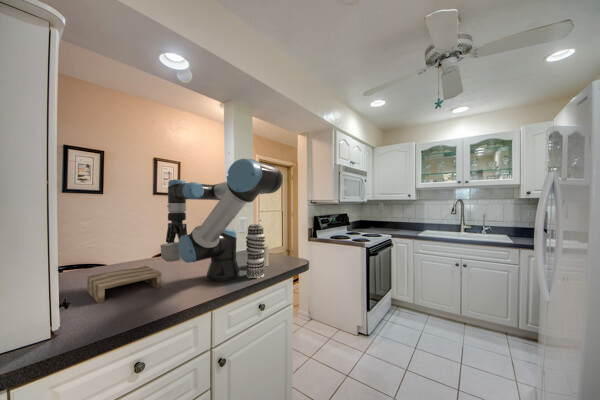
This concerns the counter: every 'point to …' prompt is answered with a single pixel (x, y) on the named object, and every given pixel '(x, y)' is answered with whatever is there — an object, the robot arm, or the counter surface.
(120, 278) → the wooden riser stand
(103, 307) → the counter surface
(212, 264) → the robot arm
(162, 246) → the teacup
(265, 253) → the can
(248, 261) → the decorative candle
